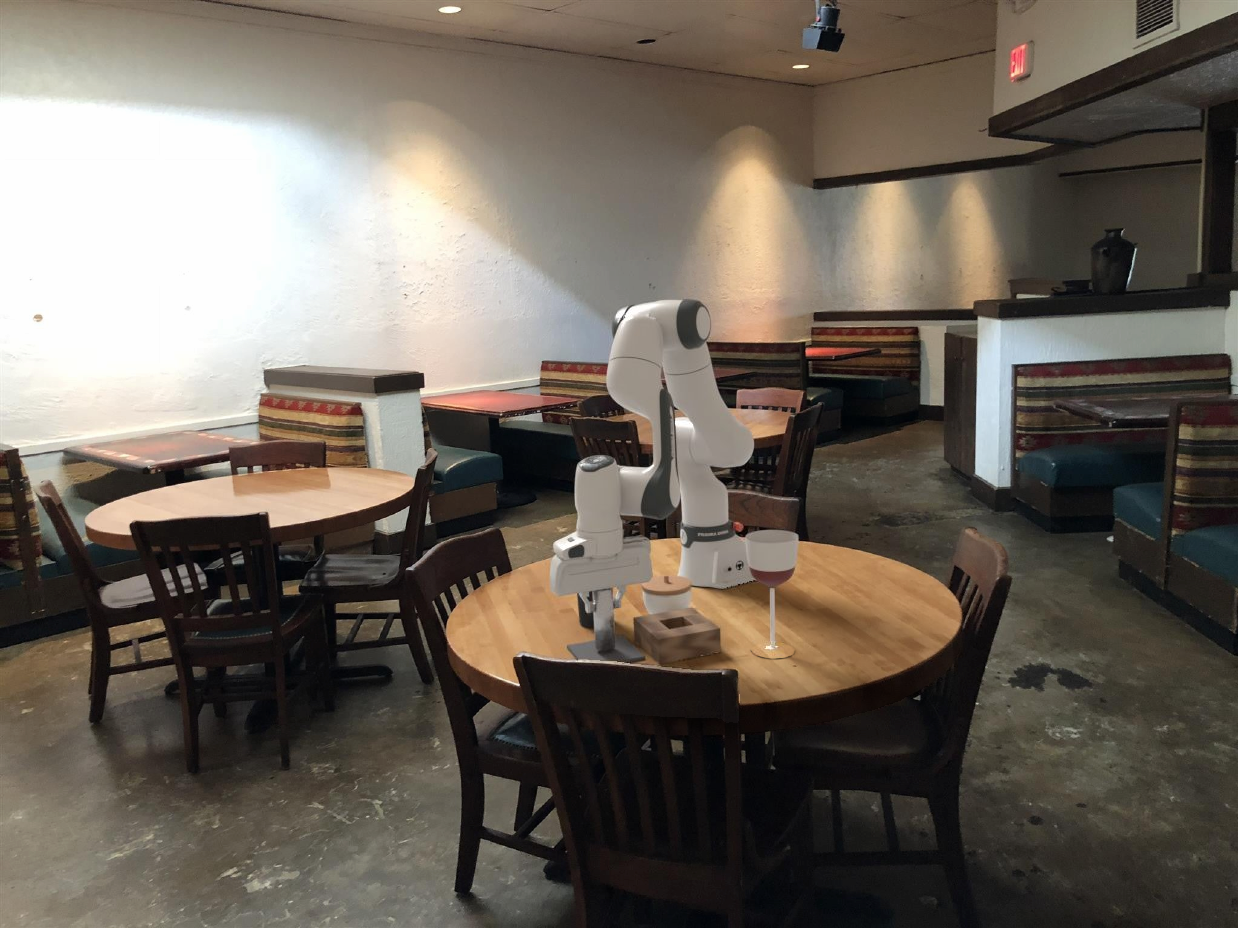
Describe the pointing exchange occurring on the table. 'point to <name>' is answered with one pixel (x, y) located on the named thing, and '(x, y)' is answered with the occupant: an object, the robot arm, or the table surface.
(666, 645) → the block
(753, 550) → the wineglass
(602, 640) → the peg
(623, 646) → the mat
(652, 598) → the lidded jar
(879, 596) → the table surface
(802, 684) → the table surface
